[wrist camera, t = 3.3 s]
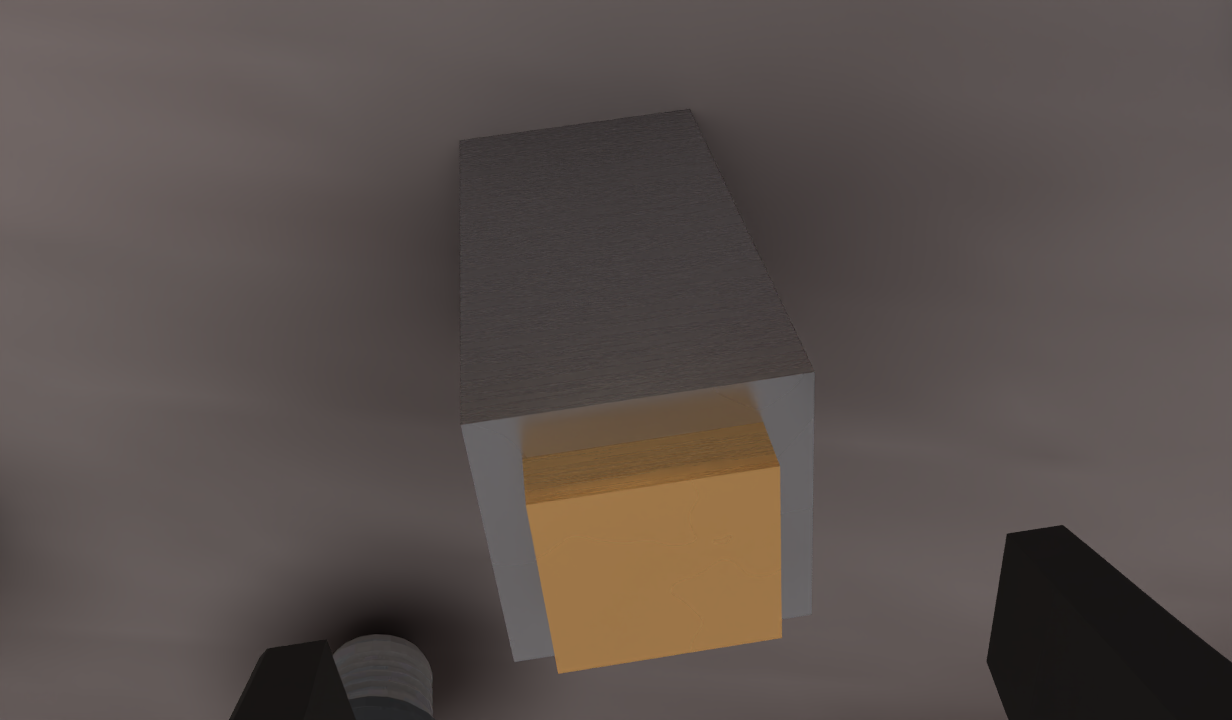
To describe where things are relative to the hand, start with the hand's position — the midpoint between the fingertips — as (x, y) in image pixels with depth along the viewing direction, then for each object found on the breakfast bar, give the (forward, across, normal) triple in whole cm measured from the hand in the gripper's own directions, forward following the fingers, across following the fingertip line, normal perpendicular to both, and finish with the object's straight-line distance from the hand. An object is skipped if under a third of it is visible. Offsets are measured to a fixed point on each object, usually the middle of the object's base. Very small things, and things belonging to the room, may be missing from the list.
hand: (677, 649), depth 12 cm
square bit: (+10, 0, 0) cm, 10 cm away
